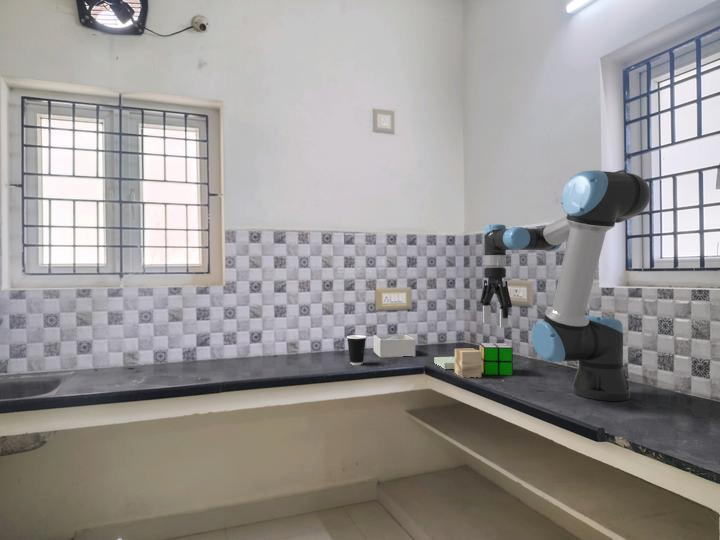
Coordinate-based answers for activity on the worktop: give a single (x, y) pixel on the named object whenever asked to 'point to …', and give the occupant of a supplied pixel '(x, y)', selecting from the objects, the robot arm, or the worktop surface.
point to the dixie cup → (356, 349)
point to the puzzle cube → (496, 359)
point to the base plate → (445, 362)
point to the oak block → (468, 362)
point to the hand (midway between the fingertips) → (495, 325)
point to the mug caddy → (394, 346)
